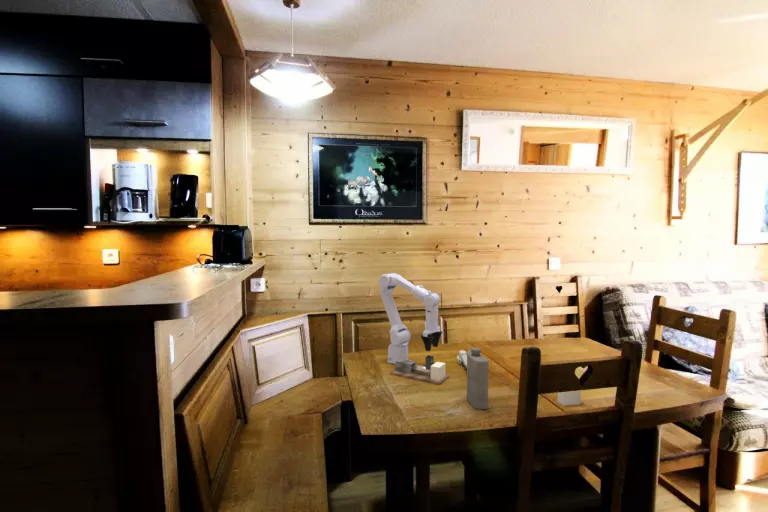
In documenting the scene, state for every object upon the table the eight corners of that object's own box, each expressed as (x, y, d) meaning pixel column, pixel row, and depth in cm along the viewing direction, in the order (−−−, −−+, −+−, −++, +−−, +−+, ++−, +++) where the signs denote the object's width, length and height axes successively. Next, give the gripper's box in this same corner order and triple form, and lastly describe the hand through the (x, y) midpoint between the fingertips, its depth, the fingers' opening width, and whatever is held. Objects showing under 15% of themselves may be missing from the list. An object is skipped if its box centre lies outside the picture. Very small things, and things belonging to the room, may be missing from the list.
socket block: (430, 379, 167) (430, 366, 167) (437, 374, 173) (437, 361, 173) (439, 380, 165) (439, 367, 165) (445, 375, 171) (445, 363, 171)
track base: (390, 374, 176) (390, 362, 175) (401, 367, 184) (400, 356, 184) (440, 384, 163) (440, 372, 163) (449, 377, 172) (449, 365, 171)
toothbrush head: (470, 371, 168) (456, 347, 193) (469, 385, 169) (455, 359, 194) (482, 371, 168) (466, 347, 193) (481, 385, 170) (465, 359, 194)
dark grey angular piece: (407, 371, 175) (407, 354, 175) (410, 369, 177) (410, 352, 177) (436, 376, 168) (436, 359, 167) (439, 374, 170) (439, 357, 170)
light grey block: (580, 404, 144) (581, 377, 143) (563, 405, 143) (564, 378, 142) (574, 400, 147) (574, 374, 147) (557, 401, 146) (558, 375, 146)
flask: (463, 393, 154) (464, 343, 153) (478, 393, 155) (478, 343, 154) (473, 410, 139) (473, 354, 138) (489, 409, 140) (490, 354, 139)
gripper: (432, 323, 172) (432, 354, 173) (446, 317, 184) (446, 346, 185) (418, 321, 176) (418, 351, 177) (432, 316, 188) (432, 343, 189)
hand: (431, 348), depth 181 cm, fingers open, 7 cm apart
